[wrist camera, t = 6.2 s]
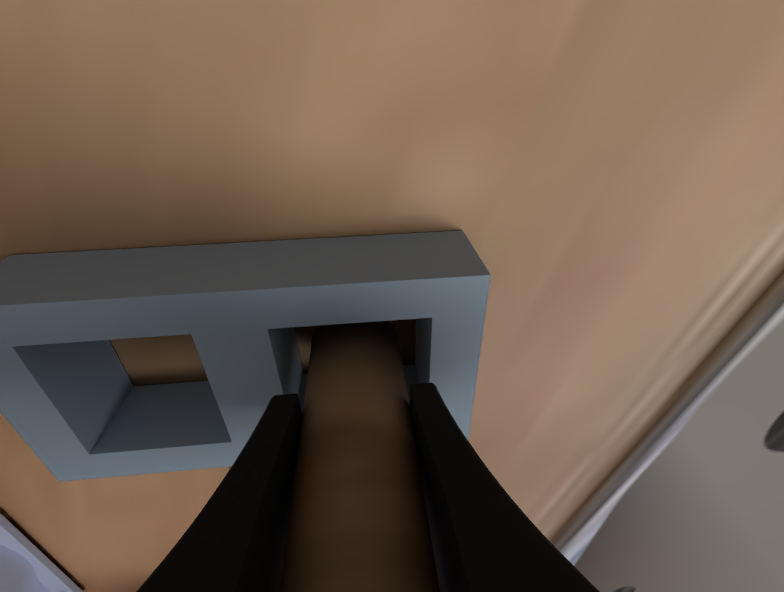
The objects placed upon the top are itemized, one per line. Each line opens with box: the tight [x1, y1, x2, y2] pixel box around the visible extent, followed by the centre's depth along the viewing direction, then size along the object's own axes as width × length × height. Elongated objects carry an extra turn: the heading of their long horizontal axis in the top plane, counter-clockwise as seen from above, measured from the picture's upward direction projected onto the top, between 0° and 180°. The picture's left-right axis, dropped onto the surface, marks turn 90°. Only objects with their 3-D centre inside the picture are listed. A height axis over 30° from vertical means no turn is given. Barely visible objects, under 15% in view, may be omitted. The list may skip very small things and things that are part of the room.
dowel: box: [279, 321, 440, 592], centre depth 10 cm, size 3×3×9 cm
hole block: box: [0, 230, 491, 482], centre depth 13 cm, size 7×14×3 cm, turn 91°
